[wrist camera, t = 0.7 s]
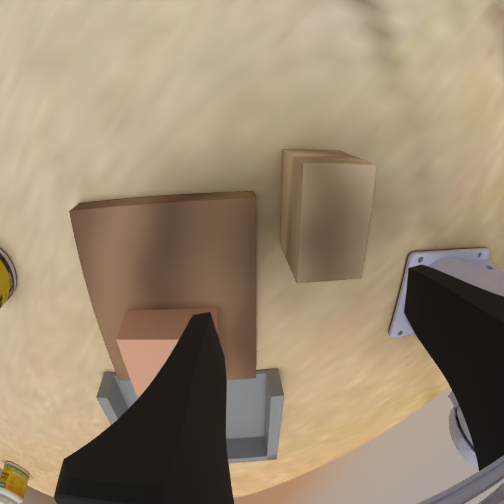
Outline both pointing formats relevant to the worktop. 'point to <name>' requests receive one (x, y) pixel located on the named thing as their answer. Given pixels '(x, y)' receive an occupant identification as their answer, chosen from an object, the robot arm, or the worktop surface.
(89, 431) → the worktop surface
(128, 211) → the board
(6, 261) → the supplement bottle
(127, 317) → the pink square block
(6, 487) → the supplement bottle
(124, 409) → the tray
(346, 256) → the tall beige block
